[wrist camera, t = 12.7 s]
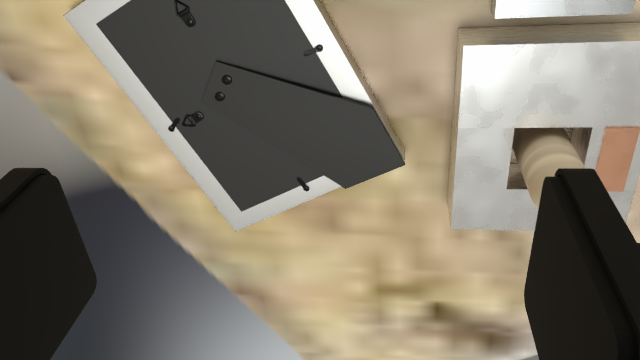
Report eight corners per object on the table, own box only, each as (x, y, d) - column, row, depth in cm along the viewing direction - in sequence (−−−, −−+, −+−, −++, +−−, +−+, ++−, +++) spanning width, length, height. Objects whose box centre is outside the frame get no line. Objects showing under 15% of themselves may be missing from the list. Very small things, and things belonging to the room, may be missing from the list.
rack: (466, -89, 32) (473, -81, 29) (685, -103, 31) (718, -95, 28) (447, 202, 44) (450, 231, 40) (607, 204, 42) (623, 233, 39)
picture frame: (404, 146, 42) (255, -119, 34) (405, 165, 40) (244, -114, 31) (241, 217, 48) (77, 7, 39) (233, 237, 45) (57, 18, 37)
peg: (513, 112, 39) (533, 163, 33) (566, 111, 38) (597, 163, 32) (507, 156, 41) (525, 211, 35) (558, 156, 40) (585, 212, 34)
